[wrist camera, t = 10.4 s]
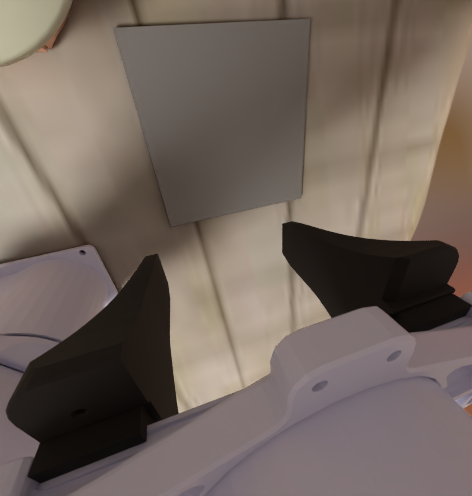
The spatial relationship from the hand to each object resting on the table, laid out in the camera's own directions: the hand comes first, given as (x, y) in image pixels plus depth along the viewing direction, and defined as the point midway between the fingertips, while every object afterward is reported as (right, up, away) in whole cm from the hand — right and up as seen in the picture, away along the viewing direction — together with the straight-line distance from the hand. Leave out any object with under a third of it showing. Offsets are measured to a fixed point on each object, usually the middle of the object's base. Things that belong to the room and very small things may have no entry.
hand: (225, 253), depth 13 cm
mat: (0, +10, +7) cm, 12 cm away
